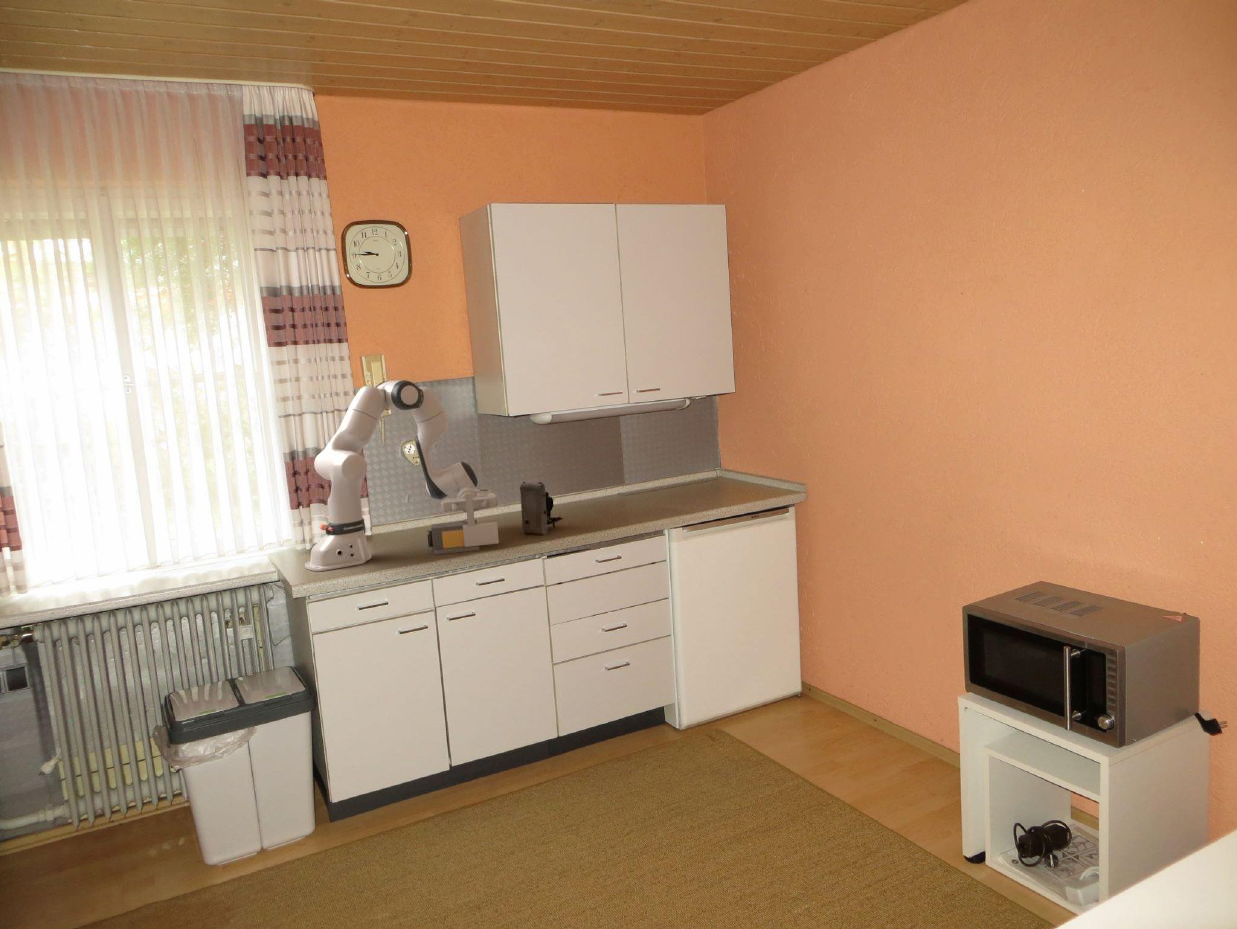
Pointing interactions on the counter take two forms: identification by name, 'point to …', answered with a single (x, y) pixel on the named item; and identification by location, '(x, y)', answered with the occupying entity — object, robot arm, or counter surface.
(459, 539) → the camera housing
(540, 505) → the vintage camera
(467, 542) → the side door
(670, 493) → the counter surface
